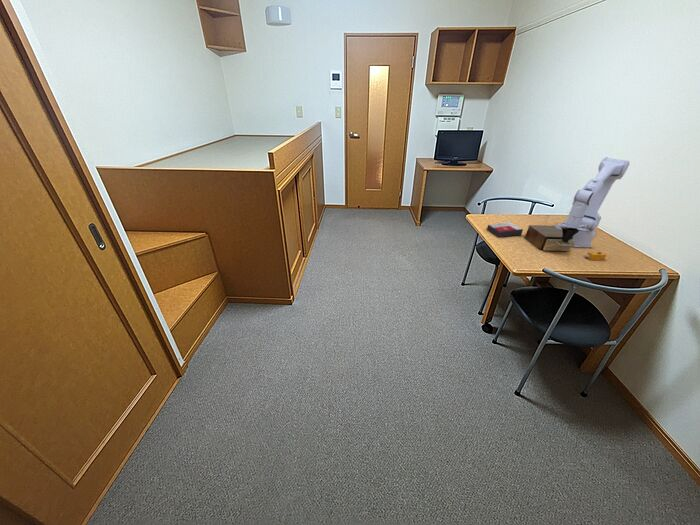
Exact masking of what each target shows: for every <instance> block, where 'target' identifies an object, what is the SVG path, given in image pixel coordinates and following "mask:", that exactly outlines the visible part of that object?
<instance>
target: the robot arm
mask: <svg viewBox="0 0 700 525" xmlns="http://www.w3.org/2000/svg"><path fill="white" fill-rule="evenodd" d="M630 164H631V163H630V160H625V159H618V158H612V157H604V158H602V160H601V161H600V162H599V165H598V173H597V174H596V176H595V178H591V179H590V180H588V182H586V184H585V185H584V186H583V187H582V188H581V189H578V190H577V191H576V193H575V195H574V197H573V201H572V203H571V205H572V206H571V208H570V211H569V214H568V216H567V217H566V220H565V221H563V222H561V223H556V225H555V226H556V228H557V229H561V230H562V233H563V236H562V241H563V242H565V243H567V242H568V241H569V240H570V239H571V238H572V237H573V239H572V240H574V243H573V244H574V245H575V246H574V247H573V248H591V247H592V246H591V245H592V242H593V240H594V238H595V236H596V232H595V231H596V230H597V228H598V227H599V225H600V222H601V220H602V216H601V215H600V213H599V210H600V208H601V206H602V205H603V202H605V199H606V198H607V195H608V193H609V192H610V190H611V188H612V187H613V185H614V184H615V183H616V181H617V180H622V178H623V177H624V176H625V173H626V172H627V171H628V169H629V166H630ZM584 215H587V216H591V217H594V218H595V219H594V218H590V217H586V216H584Z"/></svg>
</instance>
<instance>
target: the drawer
mask: <svg viewBox="0 0 700 525" xmlns="http://www.w3.org/2000/svg"><path fill="white" fill-rule="evenodd" d="M573 243H574V240H569V241H568V242H567V243H565V242H563V241H562V238H546V240H545V243H544V245H543V250H542V251H548V252H549V251H552V252H553V251H554V252H555V251H556V252H557V251H559V252H560V251H561V252H563V251H564V252H565V251H568V252H570V251H571V249H572V248H575V247H574V246H575V245H574V244H573Z"/></svg>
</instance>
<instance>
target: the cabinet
mask: <svg viewBox="0 0 700 525" xmlns="http://www.w3.org/2000/svg"><path fill="white" fill-rule="evenodd" d="M562 236H563V233H562V228H560V229H557V228H556V225H547V224H546V225H545V224H544V225H542V224H539V225H538V224H537V225H534V224H529V225H528V227H527V230H526V233H525V235H524V239H525V240H527V241H528V242H529V243H530V244H532V245H533V246H534V247H535V248H537V249H538V250H540V251H544V250H543V245H544V243H545V240H546V238H562ZM572 239H573V237H572V238H571V239H570V240H572Z"/></svg>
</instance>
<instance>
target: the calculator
mask: <svg viewBox="0 0 700 525" xmlns="http://www.w3.org/2000/svg"><path fill="white" fill-rule="evenodd" d="M486 231H488V232H490V233H491V234H492V235H494V236H495V237H497V238H505V237H513V236H515V237H519V236H522V234H523V231H524V229H523V228H522V227H520V226H518V225H516V224H514V223H512V222H510V221H507V222H496V223H490V224H487V227H486Z"/></svg>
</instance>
